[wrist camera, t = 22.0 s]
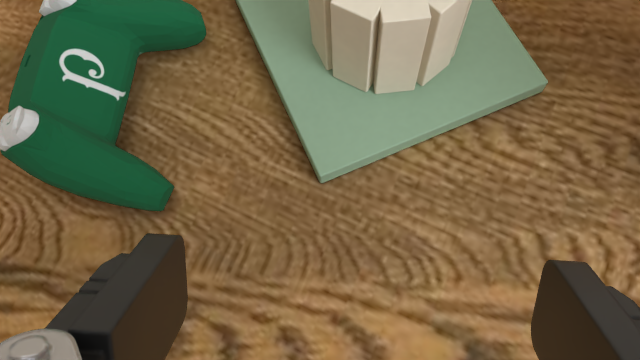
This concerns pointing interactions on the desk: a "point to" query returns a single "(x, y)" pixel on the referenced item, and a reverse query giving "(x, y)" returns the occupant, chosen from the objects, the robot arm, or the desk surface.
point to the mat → (387, 108)
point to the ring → (386, 40)
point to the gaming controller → (91, 95)
